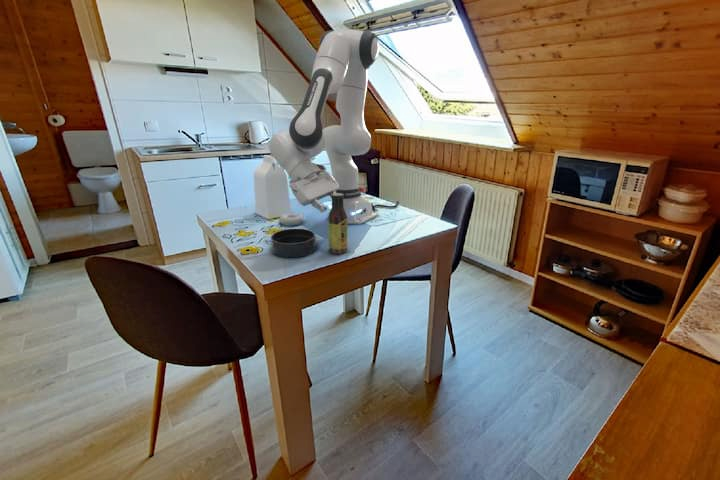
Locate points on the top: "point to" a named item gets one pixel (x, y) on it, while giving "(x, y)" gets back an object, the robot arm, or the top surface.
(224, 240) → the top surface
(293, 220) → the donut
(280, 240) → the pan
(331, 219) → the sauce bottle
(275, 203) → the milk
